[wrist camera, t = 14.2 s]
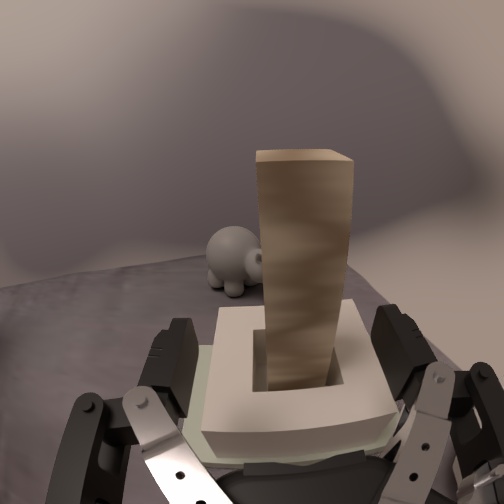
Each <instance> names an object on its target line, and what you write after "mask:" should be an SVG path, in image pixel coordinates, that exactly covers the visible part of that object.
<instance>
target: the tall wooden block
mask: <svg viewBox="0 0 504 504" xmlns="http://www.w3.org/2000/svg"><path fill="white" fill-rule="evenodd" d="M256 171H257V186H258V202H259V203H258V204H259V220H260V237H261V255H262V273H263V292H264V311H265V332H266V353H267V375H268V392H270V391H287V390H299V389H310V388H319V387H325V383H326V379H327V374H328V370H329V366H330V361H331V356H332V352H333V347H334V342H335V336H336V331H337V326H338V320H339V314H340V308H341V302H342V295H343V288H344V281H345V273H346V265H347V256H348V247H349V237H350V226H351V213H352V212H351V211H352V197H353V173H354V161H353V160H351V159H349V158H347V157H345V156H343V155H341V154H339V153H337V152H335V151H332V150H330V149H292V150H291V149H290V150H262V151H256Z"/></svg>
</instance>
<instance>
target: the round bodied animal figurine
mask: <svg viewBox="0 0 504 504" xmlns="http://www.w3.org/2000/svg"><path fill="white" fill-rule="evenodd" d="M206 259H207V263H208V266H209V272H208V283H209V285H210V286H211V287H213V288H220V287H223V286H224V290H225V293H226V294H227V295H228V296H230V297H237V296H240V295H242V294H243V292H244V284H245V285H246V286H254V285H256V284H258V283H263V273H262V255H261V245H260V243H259V241H258V239H257V238H256V236H255V235H254V234H253V233H251V232H250V231H249V230H247V229H245V228H242V227H238V226H230V227H226V228H223V229H221V230H219V231H218V232H216V233H215V234H214V235H213V236H212V238H211V239H210V241H209V243H208V245H207V249H206Z"/></svg>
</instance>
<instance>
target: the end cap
mask: <svg viewBox="0 0 504 504" xmlns="http://www.w3.org/2000/svg"><path fill="white" fill-rule="evenodd" d="M399 415H400V414H399V411H398V408H397V405H396V402H395V401H394V399H393V396H392V394H391V391H390V388H389V386H388V383H387V380H386V378H385V375H384V373H383V370H382V368H381V365H380V363H379V360H378V358H377V355H376V353H375V350H374V348H373V345H372V342H371V338H370V336H369V334H367V331H366V329H365V327H364V324H363V322H362V320H361V317H360V315H359V313H358V311H357V308H356V306H355V304H354V302H353V299H348V300H342V302H341V308H340V314H339V320H338V326H337V331H336V336H335V342H334V347H333V352H332V356H331V361H330V366H329V370H328V374H327V379H326V383H325V387H319V388H310V389H299V390H287V391H270V392H268V375H267V353H266V332H265V311H264V306H244V307H219V313H218V319H217V325H216V332H215V338H214V344H213V345H199V357H198V362H197V367H196V372H195V377H194V383H193V388H192V394H191V399H190V405H189V410H188V416H187V418H185V419H184V425H183V430H182V434H183V436H184V437H185V439H186V440H187V442H188V443H189V445H190V446H191V448H192V449H193V451H194V452H195V453H196V455H197V456H198V458H199V459H200V460H201V462H202V463H203V464H204V465H205V467H212V468H230V469H243V468H244V463H261V462H278V463H284V464H292V465H300V466H307V465H311V464H314V463H317V462H319V461H322V460H325V459H327V458H330V457H332V456H335V455H339V454H344V453H349V452H354V451H358V450H363V449H364V452H365V455H369V454H373V453H377V452H381V451H383V449H384V447H385V446H386V444H387V443H388V441H389V439H390V437H391V434H392V432H393V430H394V427H395V425H396V423H397V420H398V418H399Z"/></svg>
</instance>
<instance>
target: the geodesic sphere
mask: <svg viewBox="0 0 504 504" xmlns="http://www.w3.org/2000/svg"><path fill="white" fill-rule="evenodd" d="M498 380H499V382H500V383H501V385H502V387H503V389H504V375H503V376H502V377H501V378H499V379H498ZM474 412H475V415H476V417H477V420H478V422H479V425H480V428H482V423H481V420H480V417H479V415H478V412H477V410H476V408H475V410H474ZM452 468H453V471H454V475H455V478H456V482H457V485H458V489H459V486H460V483H461V482H462V476H461V471H460V467H459V463H458V460H457V456H456V457H455V460H454V463H453V466H452Z"/></svg>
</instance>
